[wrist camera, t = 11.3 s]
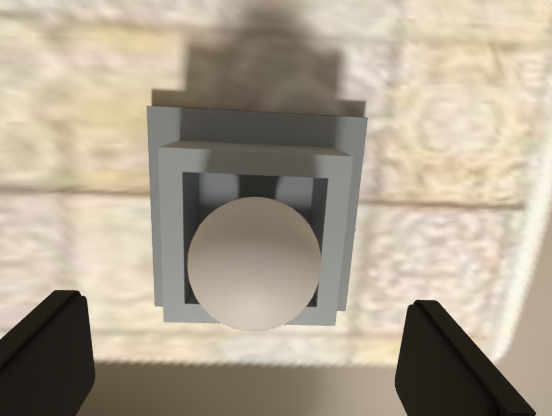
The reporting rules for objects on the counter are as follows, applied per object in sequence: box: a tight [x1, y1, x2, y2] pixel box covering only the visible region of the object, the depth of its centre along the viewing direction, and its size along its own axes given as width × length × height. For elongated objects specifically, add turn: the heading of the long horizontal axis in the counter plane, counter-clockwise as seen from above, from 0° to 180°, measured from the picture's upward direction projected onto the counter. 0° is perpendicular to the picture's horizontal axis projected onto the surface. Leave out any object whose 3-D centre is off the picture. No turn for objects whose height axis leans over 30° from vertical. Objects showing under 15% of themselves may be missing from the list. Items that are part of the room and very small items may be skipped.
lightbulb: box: [188, 197, 321, 332], centre depth 19 cm, size 6×6×11 cm
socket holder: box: [147, 106, 368, 326], centre depth 22 cm, size 14×14×6 cm
